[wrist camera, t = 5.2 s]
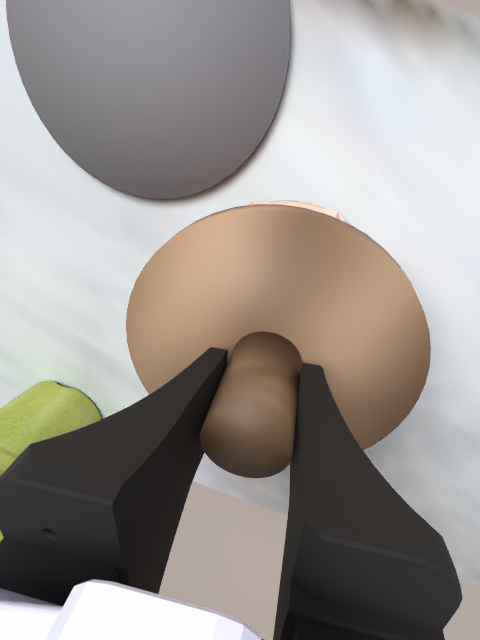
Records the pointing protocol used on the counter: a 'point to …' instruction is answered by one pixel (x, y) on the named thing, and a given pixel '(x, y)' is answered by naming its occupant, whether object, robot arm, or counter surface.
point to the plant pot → (41, 418)
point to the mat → (153, 84)
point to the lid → (280, 327)
